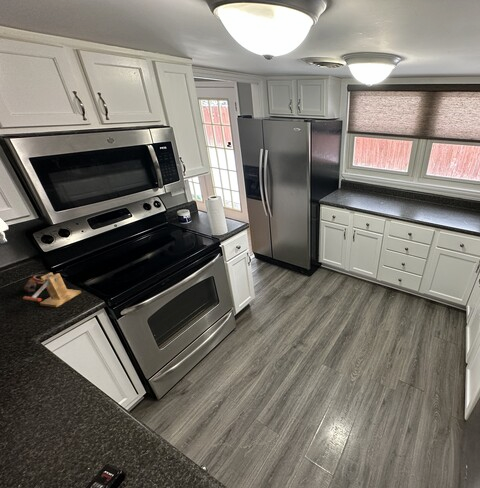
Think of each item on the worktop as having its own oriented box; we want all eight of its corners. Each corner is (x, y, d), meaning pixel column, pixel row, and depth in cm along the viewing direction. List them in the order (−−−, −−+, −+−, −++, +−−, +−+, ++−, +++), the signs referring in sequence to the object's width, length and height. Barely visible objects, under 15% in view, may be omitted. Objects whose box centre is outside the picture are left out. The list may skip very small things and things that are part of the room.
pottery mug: (33, 285, 141) (39, 271, 140) (54, 291, 144) (59, 277, 143) (13, 293, 129) (19, 278, 129) (36, 299, 132) (42, 285, 132)
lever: (40, 302, 119) (36, 300, 117) (25, 300, 120) (20, 297, 118) (63, 278, 127) (59, 275, 126) (48, 276, 128) (44, 273, 126)
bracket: (56, 307, 125) (44, 283, 119) (40, 305, 126) (27, 281, 120) (81, 292, 136) (71, 269, 130) (66, 290, 137) (55, 267, 131)
